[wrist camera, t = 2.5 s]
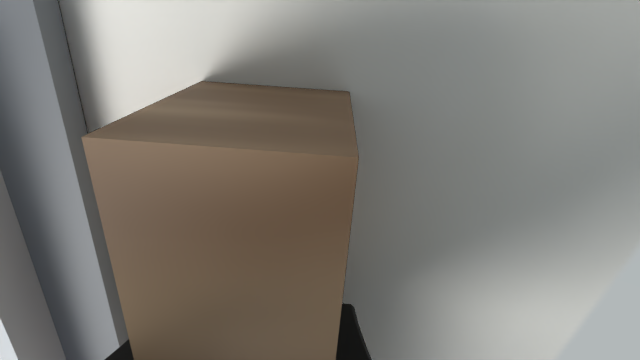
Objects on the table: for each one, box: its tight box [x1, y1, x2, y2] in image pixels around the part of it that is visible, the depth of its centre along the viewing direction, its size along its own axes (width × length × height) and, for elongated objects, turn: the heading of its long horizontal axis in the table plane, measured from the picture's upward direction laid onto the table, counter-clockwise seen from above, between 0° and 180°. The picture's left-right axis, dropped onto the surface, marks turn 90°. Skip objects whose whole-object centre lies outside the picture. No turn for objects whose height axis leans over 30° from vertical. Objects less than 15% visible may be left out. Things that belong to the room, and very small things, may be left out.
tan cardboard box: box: [81, 81, 359, 360], centre depth 10 cm, size 14×4×5 cm, turn 176°
